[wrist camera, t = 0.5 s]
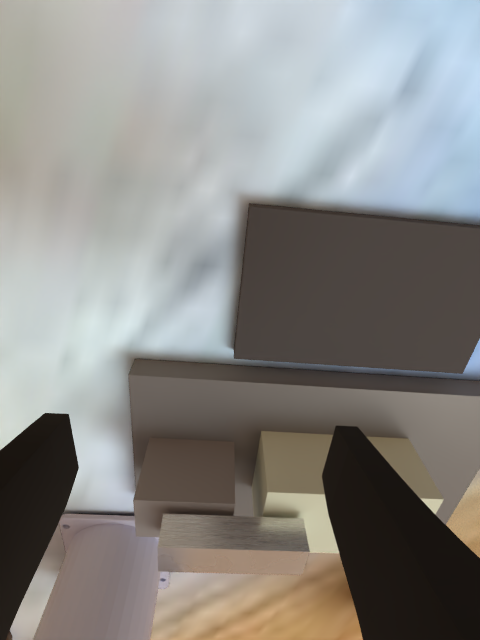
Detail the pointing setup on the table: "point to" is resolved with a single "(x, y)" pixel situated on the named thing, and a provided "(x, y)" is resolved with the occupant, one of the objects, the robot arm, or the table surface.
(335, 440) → the robot arm
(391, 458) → the cream rectangular block
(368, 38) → the table surface
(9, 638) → the candlestick
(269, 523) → the bar
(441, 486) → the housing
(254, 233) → the mat
